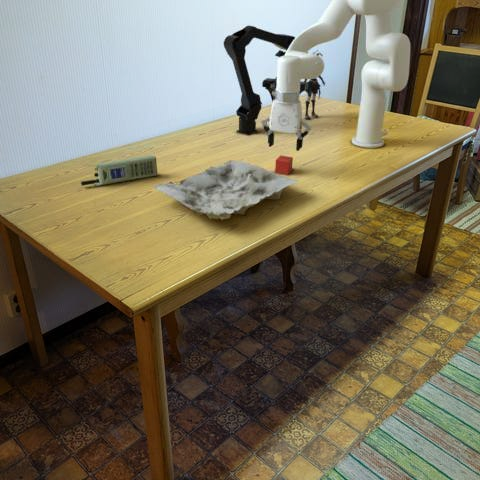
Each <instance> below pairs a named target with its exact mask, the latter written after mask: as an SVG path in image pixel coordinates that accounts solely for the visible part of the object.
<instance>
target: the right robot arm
mask: <svg viewBox="0 0 480 480" xmlns="http://www.w3.org/2000/svg"><path fill="white" fill-rule="evenodd" d="M400 1H401V0H331V1H330V2H329V4H328V5H327V7H326V9H325V10H324V12H323V13H322V15H321V16H320V18H319V19H318V20H317V21H316V22H315V23H313V24H311V25H309V27H307V28H306V29H304V30H303V31H301V32H300V33H298V35H297V36H296V37H295V39H294V40H293V42H292V43H291V45H290V46H289V48H288V49H287V51H286V50H285V52H286V53H285V55H284V56H281V57H278V59H277V67H276V68H277V69H276V77H277V86H276V91H275V92H274V91H273V92H272V96H275V100H273V102H272V104H271V110H270V116H268V117H266V118H263V119H262V120H261V121H260V123H261V125H262V127H263V130H264V132H266V135H267V144H268V147H270V148H271V147H273V146H274V145H275V132H276V133H284V134H290V135H295V136H296V137H297V138H296V145H295V151H296V152H299V151H300V150H301V149H302V148H303V144H304V143H303V140H304V138H305V137H306V136H307V135H308V134H309V133H310V132H311V130H312V128H313V126H312V125H311V124H309V123H308V122H307V121H305V120H304V119H303V108H302V102H301V100H300V96H301V94H300V81H302V80H305V79H307V80H310V79H316V78H317V79H318V78H319V76H320V75H321V76H322V74H323V73H324V70H325V62H324V60H323V58H322V56H320V55H319V56H318V55H316V53H315V54H312V53H309V51H311V49H313V48H314V47H316V46H319V45H322V44H325V43H328V42H331V41H334V40H337V39H338V38H340V37H341V35H342V34H343V32H344V30H345V29H346V27H347V26H348V24H349V23H350V21H351V20H352V18H353V16H355V15H359V16H364V18H365V51H366V54H367V55H368V57H370V58H372V59H373V60H369V61H367V62H366V63H364V65H363V67H362V69H361V74H360V75H361V76H360V77H361V79H360V80H361V97H360V104H359V112H358V118H357V119H358V120H357V127H356V135H355V136H354V137H352V138H351V143H352V144H353V145H355V146H357V147H359V148H367V149H377V148H380V147H384V145H385V141H384V139H383V137H384V136H387V135H388V134H389V133H388V131H387V130H383V125H384V119H385V113H386V105H387V93H386V91H389V92H401V91H402V90H404V89H405V88H406V87H407V84H408V81H409V75H410V65H411V64H410V62H411V40H410V39H409V37H408V35H406V34H405V33H403V32H396V31H392V15H391V12H392V11H394V10H395V9H396V8H397V7H398V5H399V3H400ZM307 52H308V53H307ZM374 59H375V60H374ZM385 90H386V91H385ZM299 95H300V96H299ZM268 123H269V125H268ZM302 127H304V128H305V130H304V131H302Z"/></svg>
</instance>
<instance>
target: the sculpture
mask: <svg viewBox="0 0 480 480" xmlns="http://www.w3.org/2000/svg"><path fill="white" fill-rule="evenodd" d="M298 182H300V180H299V179H292V178H289V177H287V176H283V175H282V174H279V173H275V171H269V170H267V169H266V168H264V167H262V166H259V165H253V164H250V163H249V162H248V163H247V162H245V161H244V162H243V161H241V160H239V161H235V160H228V161H226V162H224V163H222V164H220V165H217V166H210V167H209V168H206V169H205V170H204V171H202V172H200V173H197V174H194V175H191V176H190V177H187V178H184V179H182V180H181V181H180V183H179V184H178V183H176V184H175V183H174V182H172V181H169V182H167V183H166V184H162V183H159V184H158V185H155V186H153V188H154V189H155V190H157V191H158V192H161V193H163V194H164V195H167V196H169V197H170V198H172V199H175V200H176V201H178V202H179V203H181V204H182V205H184V206H185V207H187V208H189V209H190V210H192V211H194V212H195V213H197V214H199V215H203V214H205V215H206V216H207V217H208V219H212V220H213V219H215V220H219V219H220V220H222V221H223V220H224V219H226V220H227V219H230V218H231V215H232V214H237V215H241V216H242V215H245V214H246V211H247V210H248V208H251V207H253V206H255V205H257V204H258V203H260V202H262V201H263V200H265V199H267V200H279V199H280V197H281V194H282V193H283V192H284V190H286V189H287V188H288V187H291V186H293V185H295V184H297V183H298Z"/></svg>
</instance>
